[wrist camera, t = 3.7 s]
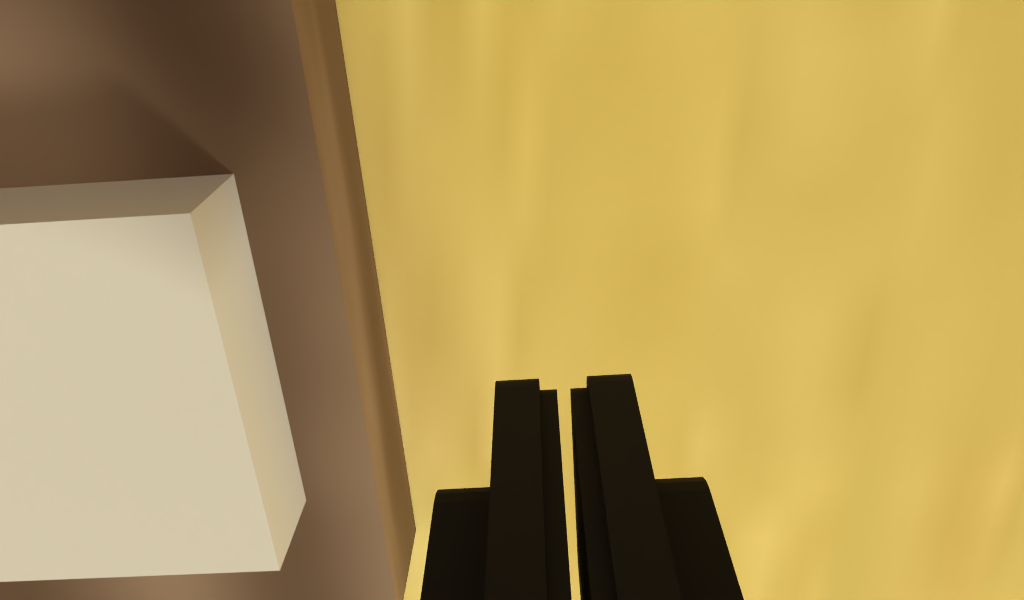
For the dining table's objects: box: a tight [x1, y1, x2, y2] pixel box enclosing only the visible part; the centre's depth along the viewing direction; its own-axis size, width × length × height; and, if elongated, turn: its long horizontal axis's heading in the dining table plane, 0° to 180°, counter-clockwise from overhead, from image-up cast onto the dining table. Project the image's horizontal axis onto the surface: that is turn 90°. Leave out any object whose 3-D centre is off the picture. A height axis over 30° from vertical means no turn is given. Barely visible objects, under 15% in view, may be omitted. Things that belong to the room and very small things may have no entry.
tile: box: [0, 174, 306, 582], centre depth 15 cm, size 7×7×2 cm
